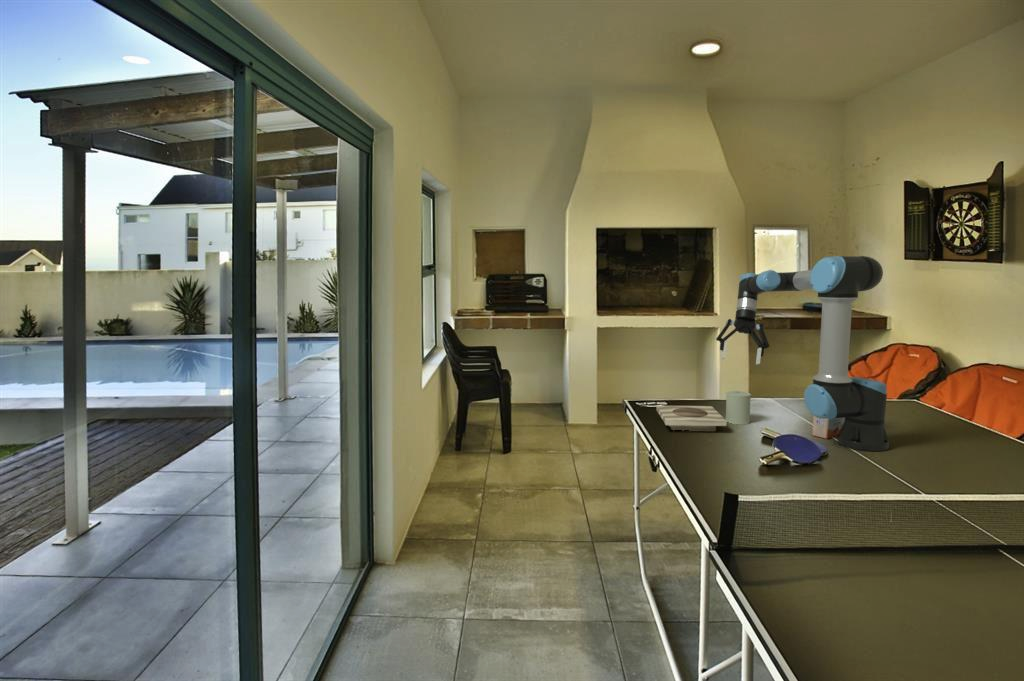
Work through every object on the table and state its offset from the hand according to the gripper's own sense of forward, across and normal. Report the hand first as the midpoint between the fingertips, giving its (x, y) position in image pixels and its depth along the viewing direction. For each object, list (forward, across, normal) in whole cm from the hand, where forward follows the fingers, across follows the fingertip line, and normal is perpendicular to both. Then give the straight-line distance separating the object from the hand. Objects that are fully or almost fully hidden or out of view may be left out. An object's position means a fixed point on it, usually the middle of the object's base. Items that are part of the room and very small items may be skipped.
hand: (740, 361), depth 230 cm
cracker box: (+24, -31, +10) cm, 41 cm away
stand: (+29, +17, +1) cm, 33 cm away
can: (+24, -3, -4) cm, 24 cm away
